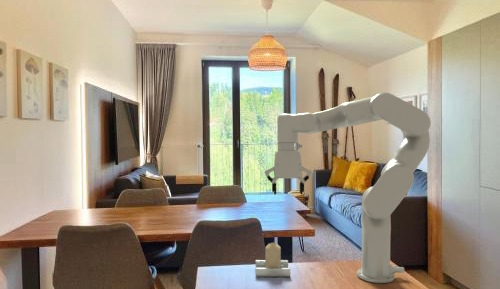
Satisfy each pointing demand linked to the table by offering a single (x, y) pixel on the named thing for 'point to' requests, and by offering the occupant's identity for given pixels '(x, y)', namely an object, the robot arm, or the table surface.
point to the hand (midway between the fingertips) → (288, 193)
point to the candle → (272, 256)
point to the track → (272, 270)
